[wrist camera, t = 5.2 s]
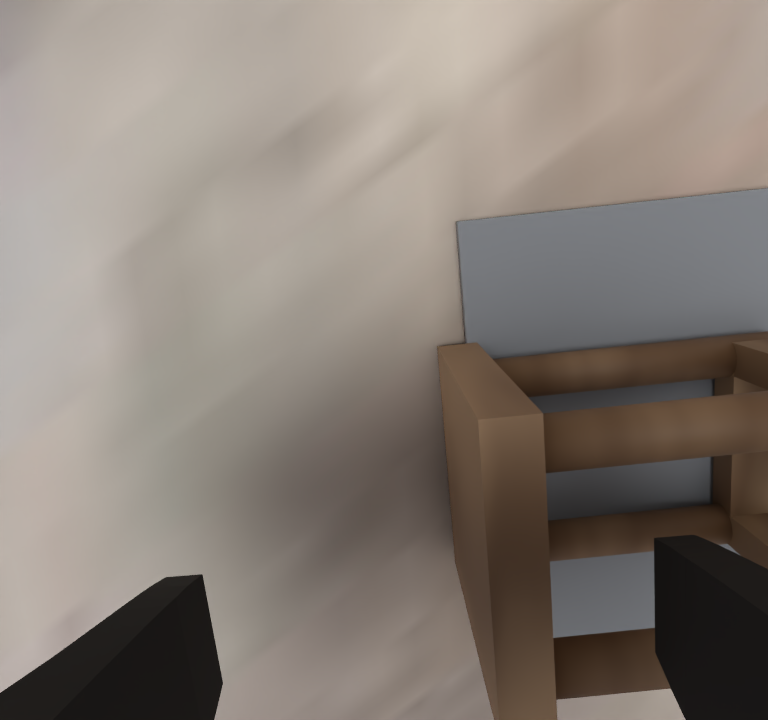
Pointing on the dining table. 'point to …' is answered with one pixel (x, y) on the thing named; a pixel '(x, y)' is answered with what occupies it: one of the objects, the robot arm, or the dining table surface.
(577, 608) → the felt mat
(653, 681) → the stool
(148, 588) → the robot arm
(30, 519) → the dining table surface
